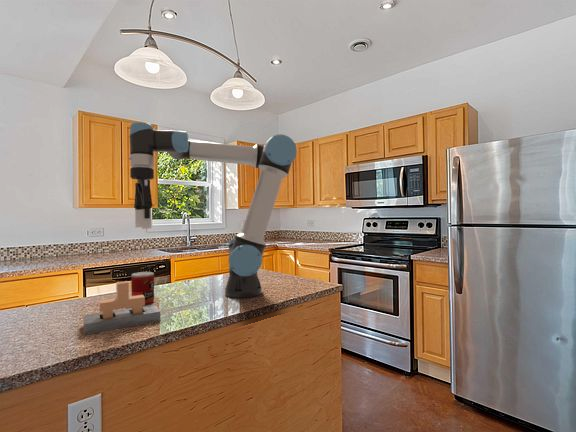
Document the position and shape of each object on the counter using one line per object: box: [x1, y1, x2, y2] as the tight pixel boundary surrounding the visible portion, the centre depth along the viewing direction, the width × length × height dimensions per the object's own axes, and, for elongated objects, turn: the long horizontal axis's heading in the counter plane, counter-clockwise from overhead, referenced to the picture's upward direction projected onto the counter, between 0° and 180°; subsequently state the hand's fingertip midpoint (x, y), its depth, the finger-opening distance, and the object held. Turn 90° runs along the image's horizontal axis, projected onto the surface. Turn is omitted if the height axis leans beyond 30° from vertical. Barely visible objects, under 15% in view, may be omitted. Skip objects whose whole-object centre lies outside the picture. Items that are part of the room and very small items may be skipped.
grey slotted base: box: [83, 303, 161, 336], centre depth 96 cm, size 20×9×3 cm, turn 124°
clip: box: [98, 280, 146, 319], centre depth 96 cm, size 12×4×12 cm, turn 124°
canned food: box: [130, 271, 155, 306], centre depth 118 cm, size 8×8×11 cm
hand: (142, 227), depth 111 cm, fingers open, 13 cm apart
